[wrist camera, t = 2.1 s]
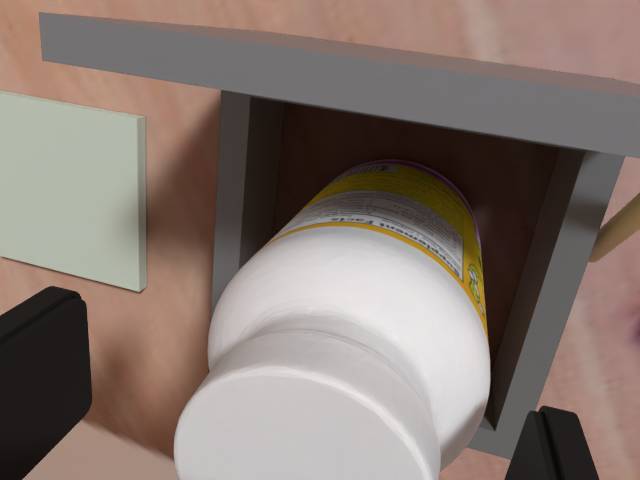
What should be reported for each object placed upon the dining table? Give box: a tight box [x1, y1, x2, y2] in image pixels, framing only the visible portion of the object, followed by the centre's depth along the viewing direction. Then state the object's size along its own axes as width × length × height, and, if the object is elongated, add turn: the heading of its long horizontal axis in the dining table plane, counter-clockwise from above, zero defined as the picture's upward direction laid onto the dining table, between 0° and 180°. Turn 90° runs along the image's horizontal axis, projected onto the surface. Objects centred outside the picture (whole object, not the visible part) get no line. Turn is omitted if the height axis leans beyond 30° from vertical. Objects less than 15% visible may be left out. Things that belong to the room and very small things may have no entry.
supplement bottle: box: [174, 159, 490, 480], centre depth 14 cm, size 7×7×13 cm
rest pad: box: [0, 91, 147, 292], centre depth 23 cm, size 8×8×1 cm
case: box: [39, 12, 640, 460], centre depth 15 cm, size 13×13×11 cm
